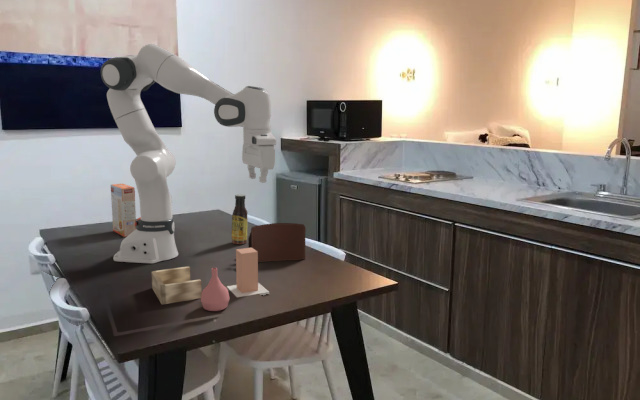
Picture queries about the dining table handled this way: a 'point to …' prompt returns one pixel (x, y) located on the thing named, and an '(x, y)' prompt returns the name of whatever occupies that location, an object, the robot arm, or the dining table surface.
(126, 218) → the cracker box
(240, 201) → the sauce bottle
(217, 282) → the pink vase
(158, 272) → the crate
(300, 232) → the letter holder
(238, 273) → the block
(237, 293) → the coaster
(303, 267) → the dining table surface
